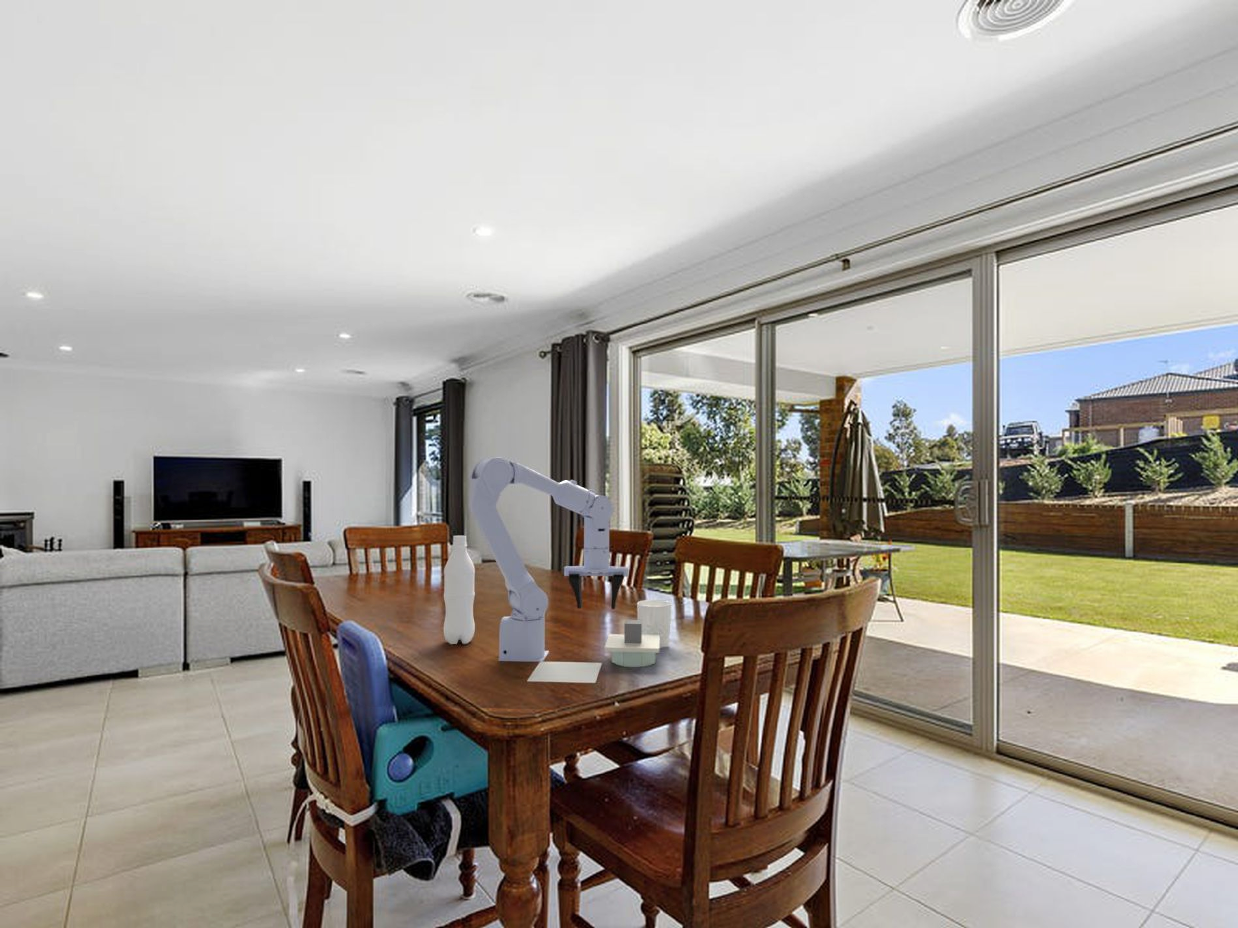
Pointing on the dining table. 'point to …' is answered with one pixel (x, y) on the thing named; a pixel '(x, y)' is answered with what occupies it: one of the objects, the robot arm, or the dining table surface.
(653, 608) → the white cup
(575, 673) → the cream square tray
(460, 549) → the water bottle
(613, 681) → the dining table surface
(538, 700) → the dining table surface
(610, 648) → the lid
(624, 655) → the bowl
